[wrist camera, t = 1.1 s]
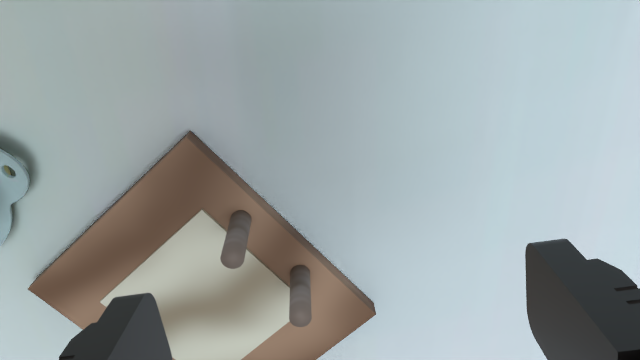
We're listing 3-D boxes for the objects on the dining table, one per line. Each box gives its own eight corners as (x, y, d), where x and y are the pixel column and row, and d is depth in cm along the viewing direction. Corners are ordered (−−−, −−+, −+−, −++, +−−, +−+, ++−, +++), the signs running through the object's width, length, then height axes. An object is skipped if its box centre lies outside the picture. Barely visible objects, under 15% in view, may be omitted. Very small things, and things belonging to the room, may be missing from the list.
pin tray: (36, 277, 34) (-12, 336, 28) (190, 130, 30) (168, 166, 25) (223, 417, 39) (212, 488, 33) (373, 303, 35) (386, 362, 30)
